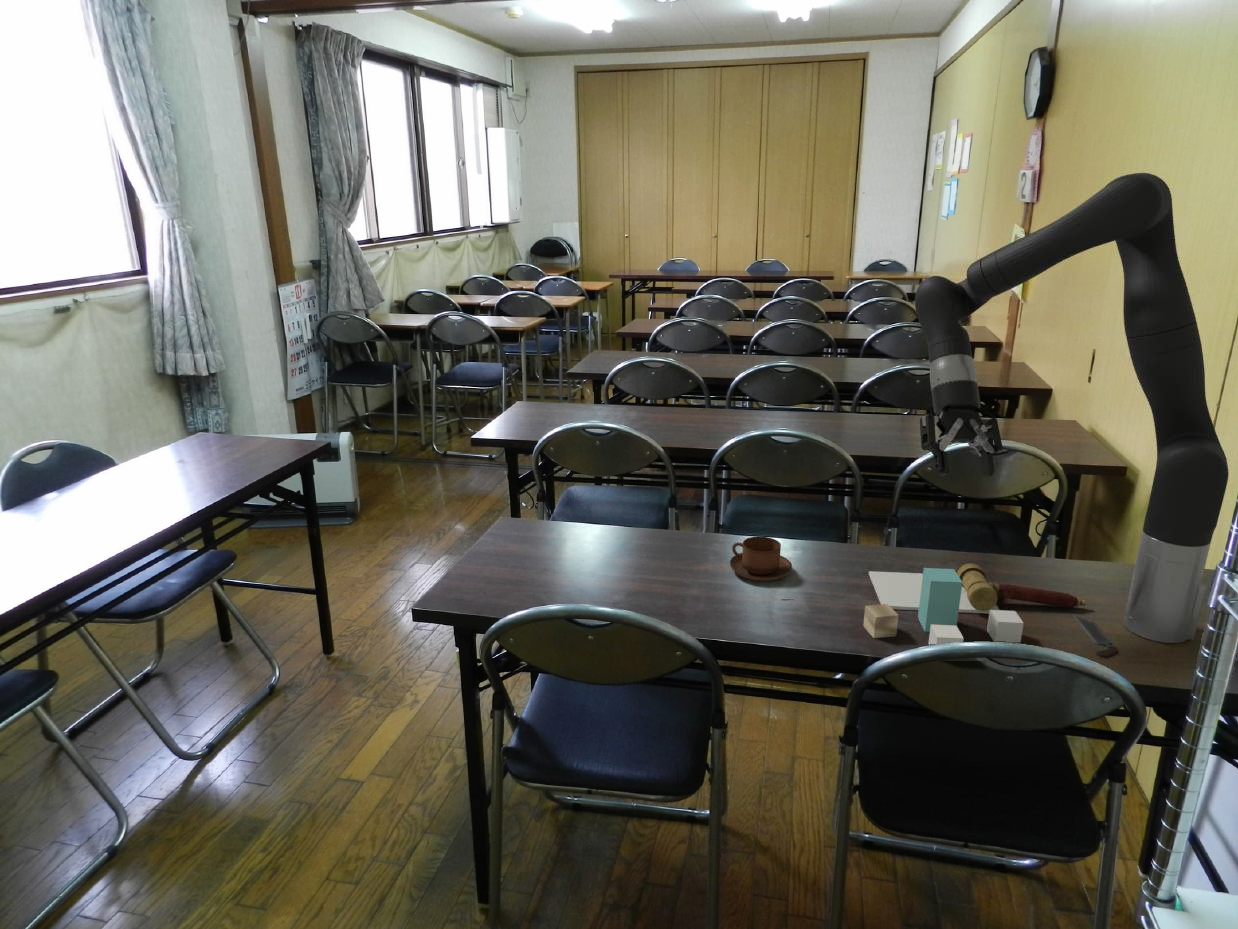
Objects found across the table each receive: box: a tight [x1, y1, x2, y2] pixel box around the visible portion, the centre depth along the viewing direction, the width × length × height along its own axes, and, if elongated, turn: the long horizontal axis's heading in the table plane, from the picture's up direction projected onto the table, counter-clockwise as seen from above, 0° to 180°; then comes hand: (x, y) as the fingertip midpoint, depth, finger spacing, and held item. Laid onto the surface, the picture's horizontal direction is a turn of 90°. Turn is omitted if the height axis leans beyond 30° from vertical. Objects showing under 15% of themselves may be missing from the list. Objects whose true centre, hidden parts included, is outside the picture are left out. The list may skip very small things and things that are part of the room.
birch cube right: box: [863, 603, 899, 639], centre depth 135 cm, size 4×4×4 cm
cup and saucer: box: [729, 536, 793, 582], centre depth 157 cm, size 12×12×6 cm
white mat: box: [868, 570, 1000, 615], centre depth 148 cm, size 20×14×1 cm
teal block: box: [917, 567, 963, 633], centre depth 136 cm, size 5×5×10 cm
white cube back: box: [927, 624, 964, 645], centre depth 128 cm, size 4×4×4 cm
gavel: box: [956, 562, 1087, 611], centre depth 143 cm, size 21×5×10 cm
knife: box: [1072, 614, 1118, 659], centre depth 133 cm, size 14×4×1 cm, turn 172°
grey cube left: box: [986, 609, 1025, 643], centre depth 133 cm, size 4×4×4 cm
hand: (965, 475), depth 136 cm, fingers open, 8 cm apart
